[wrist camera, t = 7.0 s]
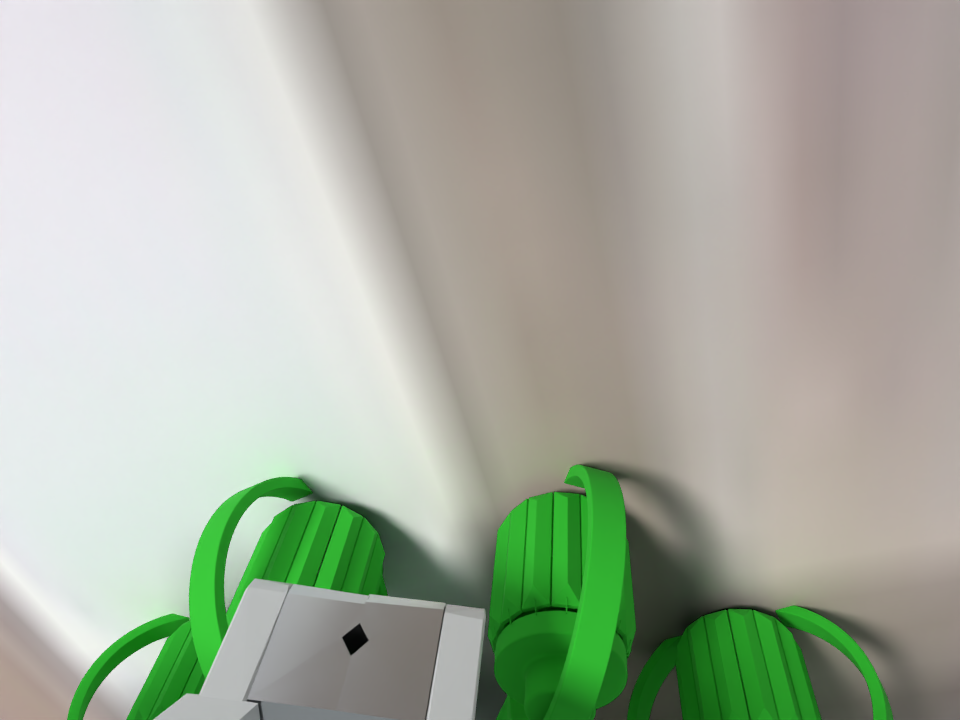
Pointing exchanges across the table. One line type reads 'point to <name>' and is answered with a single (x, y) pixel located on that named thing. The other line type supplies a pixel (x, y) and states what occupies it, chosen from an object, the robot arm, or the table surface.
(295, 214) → the table surface
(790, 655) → the chandelier
